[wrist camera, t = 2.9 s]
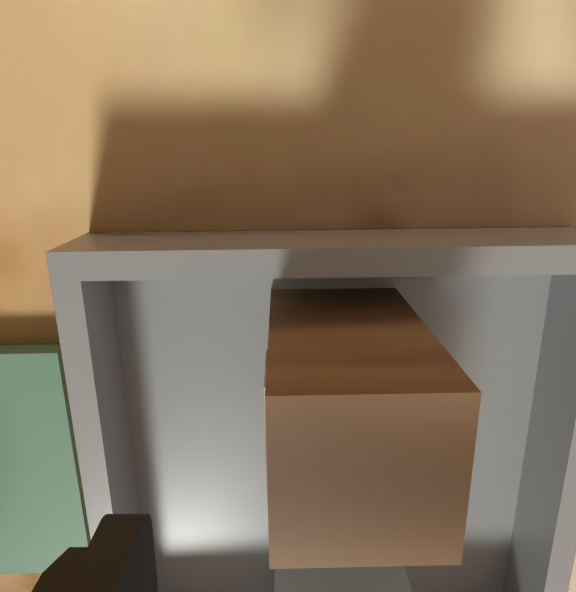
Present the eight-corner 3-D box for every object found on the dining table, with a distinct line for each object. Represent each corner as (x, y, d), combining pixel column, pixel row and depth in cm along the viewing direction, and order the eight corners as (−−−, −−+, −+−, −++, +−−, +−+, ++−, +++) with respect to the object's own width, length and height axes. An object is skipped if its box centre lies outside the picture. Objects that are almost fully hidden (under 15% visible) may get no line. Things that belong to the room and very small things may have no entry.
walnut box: (268, 289, 16) (260, 396, 9) (395, 287, 16) (481, 392, 9) (270, 401, 17) (265, 568, 10) (389, 399, 17) (461, 564, 10)
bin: (88, 232, 16) (45, 252, 13) (572, 226, 16) (637, 244, 13) (136, 608, 20) (113, 685, 17) (512, 599, 20) (550, 674, 18)
